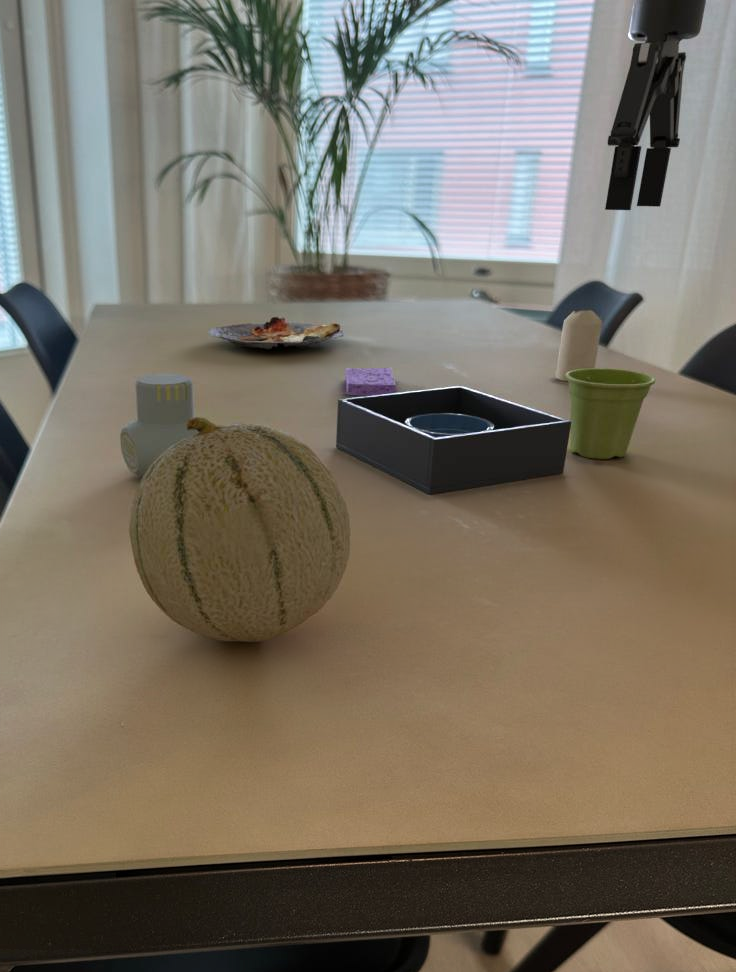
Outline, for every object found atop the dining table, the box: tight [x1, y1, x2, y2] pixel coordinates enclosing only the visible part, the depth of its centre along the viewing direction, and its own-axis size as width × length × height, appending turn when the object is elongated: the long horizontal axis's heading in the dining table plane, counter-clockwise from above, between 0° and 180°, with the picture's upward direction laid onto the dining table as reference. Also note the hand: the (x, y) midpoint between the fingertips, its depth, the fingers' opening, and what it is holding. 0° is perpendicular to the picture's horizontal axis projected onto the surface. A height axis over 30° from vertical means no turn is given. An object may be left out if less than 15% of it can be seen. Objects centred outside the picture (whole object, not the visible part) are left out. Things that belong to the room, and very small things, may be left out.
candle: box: [555, 309, 603, 382], centre depth 139 cm, size 6×6×10 cm
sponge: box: [345, 367, 397, 397], centre depth 135 cm, size 7×13×2 cm, turn 176°
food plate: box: [207, 316, 344, 350], centre depth 168 cm, size 25×23×4 cm
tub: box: [335, 385, 571, 495], centre depth 101 cm, size 19×17×6 cm
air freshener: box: [119, 373, 198, 479], centre depth 95 cm, size 11×8×10 cm
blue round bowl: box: [404, 413, 495, 438], centre depth 101 cm, size 10×10×4 cm
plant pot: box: [566, 367, 656, 460], centre depth 103 cm, size 9×9×9 cm
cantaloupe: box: [128, 416, 351, 643], centre depth 61 cm, size 15×15×15 cm
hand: (633, 208), depth 111 cm, fingers open, 13 cm apart
